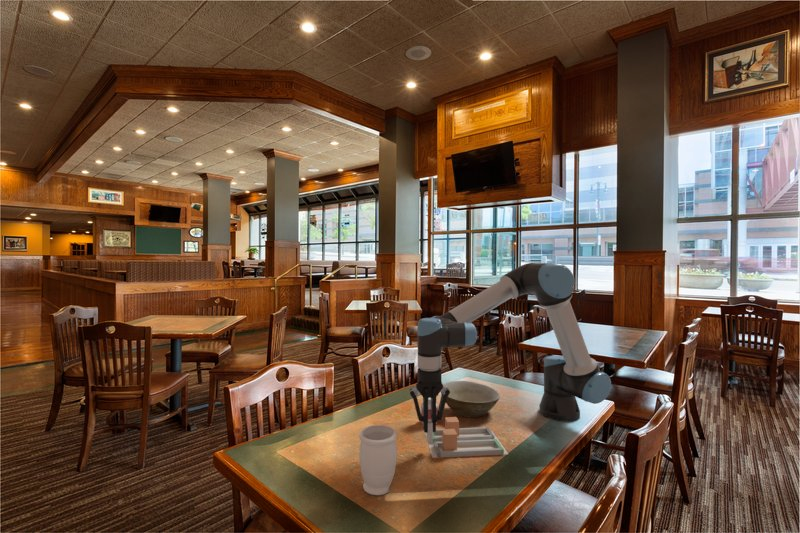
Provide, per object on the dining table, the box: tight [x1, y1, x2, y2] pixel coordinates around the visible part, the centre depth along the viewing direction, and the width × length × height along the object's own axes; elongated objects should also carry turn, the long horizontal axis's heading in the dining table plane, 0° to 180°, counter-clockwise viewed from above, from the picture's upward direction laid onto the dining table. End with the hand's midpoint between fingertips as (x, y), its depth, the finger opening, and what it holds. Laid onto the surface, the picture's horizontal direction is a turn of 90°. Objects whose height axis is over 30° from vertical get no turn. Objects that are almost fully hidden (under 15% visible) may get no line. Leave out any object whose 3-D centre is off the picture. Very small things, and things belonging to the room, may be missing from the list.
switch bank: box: [424, 426, 509, 459], centre depth 127 cm, size 24×16×3 cm, turn 95°
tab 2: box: [441, 428, 457, 451], centre depth 122 cm, size 4×4×6 cm
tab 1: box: [444, 416, 460, 436], centre depth 131 cm, size 4×4×6 cm
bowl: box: [440, 380, 501, 418], centre depth 154 cm, size 24×24×10 cm
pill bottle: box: [420, 398, 439, 426], centre depth 143 cm, size 6×6×11 cm
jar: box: [358, 424, 398, 496], centre depth 105 cm, size 11×10×15 cm
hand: (429, 441), depth 121 cm, fingers closed
